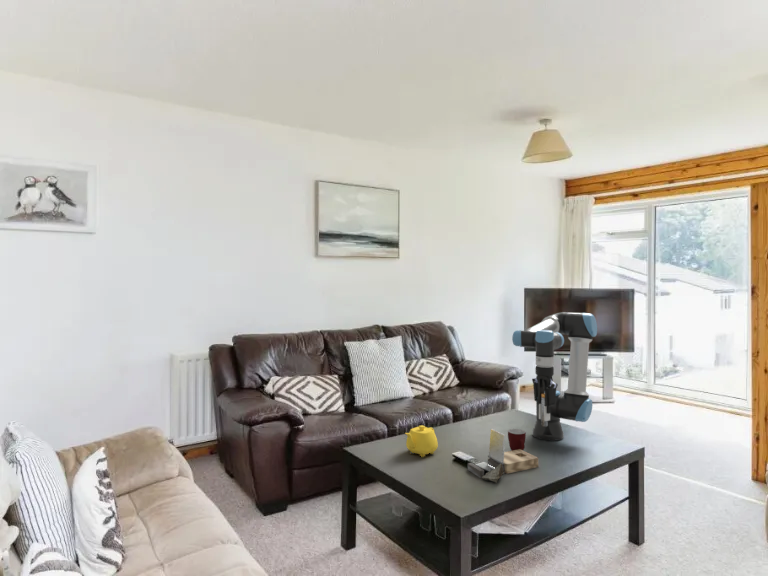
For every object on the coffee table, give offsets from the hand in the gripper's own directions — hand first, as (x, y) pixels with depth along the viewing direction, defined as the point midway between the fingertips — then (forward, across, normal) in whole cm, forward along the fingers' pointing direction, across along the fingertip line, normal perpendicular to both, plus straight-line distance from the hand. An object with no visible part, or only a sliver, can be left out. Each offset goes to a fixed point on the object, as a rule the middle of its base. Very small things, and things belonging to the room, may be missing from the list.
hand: (544, 419), depth 218 cm
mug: (+21, -17, 0) cm, 26 cm away
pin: (+3, 0, 0) cm, 3 cm away
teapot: (+21, -37, -42) cm, 59 cm away
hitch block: (+20, -6, -18) cm, 28 cm away
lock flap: (+16, -6, -22) cm, 28 cm away
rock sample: (+21, +3, -30) cm, 36 cm away
